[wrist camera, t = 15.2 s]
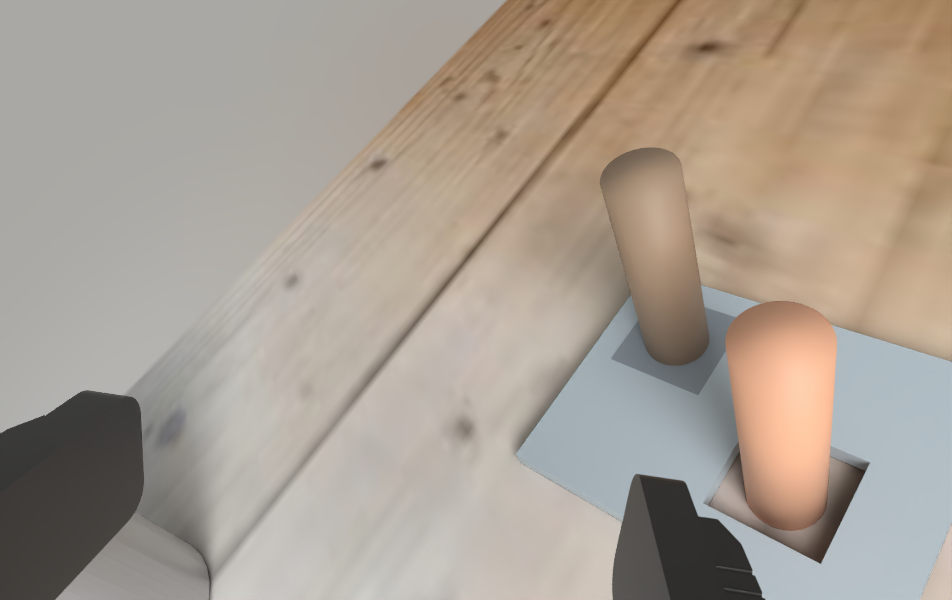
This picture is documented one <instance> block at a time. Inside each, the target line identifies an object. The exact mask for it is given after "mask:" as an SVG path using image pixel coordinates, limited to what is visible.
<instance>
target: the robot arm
mask: <svg viewBox="0 0 952 600" xmlns="http://www.w3.org/2000/svg"><path fill="white" fill-rule="evenodd" d="M143 485H144V473H143V452H142V431H141V412H140V407H139V404H138V402H137V401H136V399H134V398H133V397H128V396H121V395H115V394H108V393H101V392H94V391H82V392H80V393H78V394H77V395H75V396H74V397H72V398H71V399H69V400H68V401H66V402H65V403H63V404H62V405H60V406H59V407H57V408H56V409H55V410H53V411H52V412H50V413H49V414H47V415H46V416H41V417H39V418H36V419H33V420H31V421H28V422H25V423H23V424H20V425H18V426H15V427H12V428H10V429H7V430H6V431H4V432H3V433H0V600H209V582H210V581H209V576H208V570H207V566H206V564H205V562H204V560H203V557H202V555H201V554H200V553H199V552H198V551H197V550H196V549H195V548H194V547H193V546H191V545H189V544H188V543H186V542H184V541H183V540H181V539H179V538H178V537H176V536H174V535H173V534H171V533H169V532H168V531H166V530H164V529H162V528H161V527H159V526H157V525H156V524H154V523H152V522H151V521H149V520H148V519H146V518H145V517H143V516H141V515H139V514H138V513H136V512H135V511H136V509H137V507H138V505H139V502H140V499H141V496H142V491H143ZM752 571H753V570H752V567H751V565H750V563H749V560H748V558H747V556H746V554H745V551H744V549H743V547H742V544H741V543H740V542H739V541H738V540H737V539H736V538H735V537H734V536H733V535H732V534H731V533H730V531H729V530H728V529H727V528H726V527H725V526H724V525H723V524H722V523H721V522H720V521H719V520H718V519H713V518H707V517H700V516H698V514H697V512H696V509H695V506H694V503H693V501H692V498H691V495H690V492H689V489H688V487H687V484H686V483H685V482H684V481H682V480H675V479H668V478H662V477H655V476H648V475H642V474H635V475H634V477H633V479H632V482H631V485H630V490H629V494H628V499H627V503H626V508H625V512H624V517H623V522H622V526H621V531H620V535H619V540H618V544H617V549H616V554H615V559H614V567H613V580H612V592H613V600H765V598H762V591H761V588H760V586H759V584H758V581H757V579H756V577H755V575H753V574H752Z"/></svg>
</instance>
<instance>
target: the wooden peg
mask: <svg viewBox="0 0 952 600" xmlns="http://www.w3.org/2000/svg"><path fill="white" fill-rule="evenodd" d="M725 345H726V353H727V360H728V368H729V375H730V382H731V390H732V397H733V404H734V412H735V419H736V427H737V434H738V441H739V449H740V456H741V463H742V471H743V478H744V485H745V493H746V499H747V502H748V504H749V506H750V508H751V510H752V511H753V513H754V514H755V515H756V516H757V517H758V518H759V519H760V520H762V521H763V522H764V523H766V524H768V525H770V526H772V527H774V528H778V529H782V530H790V531H792V530H801V529H804V528H807V527H809V526H811V525H813V524H815V523H816V522H817V521H818V520H819V519H820V518H821V517H822V515H823V514H824V512H825V509H826V506H827V495H828V479H829V464H830V448H831V432H832V416H833V401H834V385H835V369H836V354H837V337H836V334H835V331H834V329H833V327H832V325H831V324H830V322H829V321H828V320H827V319H826V318H825V317H824V316H823V315H822V314H820V313H819V312H817V311H816V310H814V309H812V308H810V307H808V306H805V305H802V304H799V303H795V302H788V301H773V302H766V303H762V304H758V305H756V306H753V307H751V308H749V309H747V310H745V311H744V312H742V313H741V314H740V315H738V316H737V317H736V318H735V319H734V320H733V322H732V323H731V325H730V326H729V328H728V331H727V334H726V339H725Z"/></svg>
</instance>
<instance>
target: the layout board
mask: <svg viewBox="0 0 952 600" xmlns="http://www.w3.org/2000/svg"><path fill="white" fill-rule="evenodd" d="M600 185H601V189H602V192H603V196H604V200H605V203H606V207H607V210H608V214H609V217H610V221H611V225H612V228H613V232H614V235H615V239H616V243H617V246H618V250H619V253H620V257H621V260H622V264H623V268H624V271H625V275H626V278H627V282H628V285H629V289H630V293H631V295H630V296H629V298H628V299H627V300H626V302H625V303H624V305H623V306H622V307H621V309H620V310H619V312H618V313H617V314H616V316H615V317H614V318H613V320H612V321H611V323H610V324H609V325H608V327H607V328H606V330H605V331H604V332H603V334H602V335H601V337H600V338H599V339H598V341H597V342H596V343H595V345H594V346H593V348H592V349H591V350H590V352H589V353H588V355H587V356H586V357H585V359H584V360H583V362H582V363H581V364H580V366H579V367H578V368H577V370H576V371H575V373H574V374H573V375H572V377H571V378H570V380H569V381H568V382H567V384H566V385H565V386H564V388H563V389H562V391H561V392H560V393H559V395H558V396H557V398H556V399H555V400H554V402H553V403H552V405H551V406H550V407H549V409H548V410H547V411H546V413H545V414H544V416H543V417H542V418H541V420H540V421H539V423H538V424H537V425H536V427H535V428H534V430H533V431H532V432H531V434H530V435H529V436H528V438H527V439H526V441H525V442H524V443H523V445H522V446H521V448H520V449H519V450H518V452H517V453H516V456H517V457H518V459H519V461H520V462H521V463H522V464H524V465H525V466H527V467H529V468H530V469H532V470H534V471H536V472H537V473H539V474H541V475H542V476H544V477H546V478H548V479H549V480H551V481H553V482H554V483H556V484H558V485H560V486H561V487H563V488H565V489H567V490H568V491H570V492H572V493H573V494H575V495H577V496H579V497H580V498H582V499H584V500H585V501H587V502H589V503H591V504H592V505H594V506H596V507H597V508H599V509H601V510H603V511H604V512H606V513H608V514H609V515H611V516H613V517H615V518H616V519H618V520H620V521H621V522H623V517H624V512H625V508H626V503H627V499H628V494H629V490H630V485H631V482H632V479H633V477H634V475H635V474H642V475H648V476H655V477H662V478H668V479H675V480H682V481H684V482H685V483H686V484H687V487H688V489H689V492H690V495H691V498H692V501H693V503H694V506H695V509H696V512H697V514H698V516H700V517H707V518H713V519H718V520H719V521H720V522H721V523H722V524H723V525H724V526H725V527H726V528H727V529H728V530H729V531H730V533H731V534H732V535H733V536H734V537H735V538H736V539H737V540H738V541H739V542H740V543H741V544H742V547H743V549H744V551H745V554H746V556H747V558H748V560H749V563H750V565H751V567H752V570H753V571H752V574H753V575H755V577H756V579H757V581H758V584H759V586H760V588H761V591H762V598H765V600H920V598H921V595H922V593H923V590H924V588H925V586H926V583H927V581H928V578H929V576H930V574H931V571H932V569H933V566H934V564H935V562H936V559H937V557H938V554H939V552H940V550H941V547H942V545H943V542H944V540H945V538H946V535H947V533H948V530H949V528H950V526H951V523H952V362H951V361H947V360H944V359H941V358H938V357H934V356H931V355H928V354H925V353H921V352H918V351H915V350H912V349H908V348H905V347H902V346H899V345H895V344H892V343H889V342H886V341H882V340H879V339H876V338H872V337H869V336H866V335H863V334H859V333H856V332H853V331H850V330H846V329H843V328H840V327H837V326H833V325H832V327H833V329H834V331H835V334H836V337H837V354H836V369H835V385H834V401H833V416H832V432H831V448H830V456H831V457H833V458H835V459H838V460H840V461H843V462H845V463H847V464H850V465H852V466H854V467H857V468H859V469H862V470H864V471H866V472H865V474H864V476H863V478H862V480H861V482H860V484H859V487H858V489H857V491H856V493H855V495H854V497H853V499H852V501H851V503H850V505H849V507H848V509H847V511H846V513H845V515H844V517H843V519H842V522H841V524H840V526H839V528H838V530H837V532H836V534H835V536H834V538H833V540H832V542H831V544H830V546H829V548H828V550H827V552H826V554H825V557H824V559H823V561H822V563H821V564H820V563H818V562H816V561H814V560H812V559H810V558H808V557H806V556H804V555H802V554H800V553H798V552H796V551H795V550H793V549H791V548H789V547H787V546H785V545H783V544H781V543H779V542H777V541H775V540H773V539H771V538H769V537H768V536H766V535H764V534H762V533H760V532H758V531H756V530H754V529H752V528H750V527H748V526H746V525H744V524H742V523H741V522H739V521H737V520H735V519H733V518H731V517H729V516H727V515H725V514H723V513H721V512H719V511H717V510H715V509H714V508H712V507H710V506H708V505H709V503H710V502H711V500H712V498H713V496H714V495H715V493H716V491H717V490H718V488H719V486H720V484H721V483H722V481H723V479H724V477H725V476H726V474H727V472H728V470H729V469H730V467H731V465H732V463H733V462H734V460H735V458H736V456H737V455H738V453H739V451H740V449H739V441H738V434H737V427H736V419H735V412H734V404H733V397H732V390H731V382H730V375H729V368H728V360H727V353H726V345H725V339H726V334H727V331H728V328H729V326H730V325H731V323H732V322H733V320H734V319H735V318H736V317H737V316H738V315H740V314H741V313H742V312H744V311H745V310H747V309H749V308H751V307H753V306H756V305H758V304H762V303H758V302H755V301H752V300H749V299H745V298H742V297H739V296H736V295H732V294H729V293H726V292H722V291H719V290H716V289H713V288H709V287H706V286H703V285H701V282H700V276H699V270H698V264H697V257H696V251H695V245H694V239H693V233H692V227H691V220H690V214H689V208H688V202H687V196H686V190H685V183H684V177H683V171H682V165H681V162H680V160H679V158H678V157H677V156H676V155H675V154H673V153H672V152H670V151H668V150H665V149H661V148H641V149H636V150H633V151H629V152H627V153H625V154H622V155H620V156H619V157H617V158H616V159H614V160H613V161H612V162H610V163H609V164H608V165H607V167H606V168H605V169H604V171H603V173H602V175H601V178H600Z"/></svg>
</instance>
